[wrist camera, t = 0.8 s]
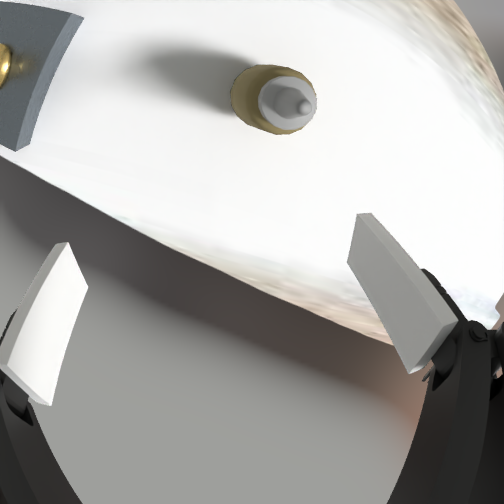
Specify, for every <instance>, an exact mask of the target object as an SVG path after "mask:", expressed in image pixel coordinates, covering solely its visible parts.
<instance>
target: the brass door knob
mask: <svg viewBox="0 0 504 504" xmlns="http://www.w3.org/2000/svg"><path fill="white" fill-rule="evenodd" d="M12 54H13V53H12V52H11V50H10V48H9V46H8V45H6V44H0V88H1V87H2V85H3V84H4V82H5V81H6V79H7V77H8V74H9V72H10V68H11V63H12Z"/></svg>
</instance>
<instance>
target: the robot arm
mask: <svg viewBox="0 0 504 504" xmlns="http://www.w3.org/2000/svg"><path fill="white" fill-rule="evenodd" d="M347 263H348V265H349V267H350V268H351V270H352V271H353V273H354V275H355V276H356V278H357V280H358V281H359V283H360V285H361V286H362V288H363V290H364V292H365V293H366V295H367V297H368V298H369V300H370V302H371V304H372V305H373V307H374V309H375V311H376V313H377V314H378V316H379V318H380V320H381V322H382V323H383V325H384V327H385V329H386V331H387V333H388V335H389V336H390V338H391V340H392V342H393V344H394V346H395V348H396V350H397V352H398V354H399V356H400V358H401V360H402V362H403V364H404V366H405V368H406V370H407V372H408V374H410V373H413V372H415V371H418V370H420V369H423V368H424V367H425V366H426V365H427V364H428V362H429V361H430V360H432V362H433V363H434V365H433V367H432V368H431V369H430V370H429V371H428V373H427V374H426V375H425V376H424V378H423V380H422V381H425V380H426V379H427V378H428V377H429V376H430V377H429V381H428V387H427V391H426V395H425V400H424V404H423V408H422V412H421V415H420V419H419V422H418V426H417V429H416V432H415V435H414V438H413V441H412V444H411V448H410V450H409V453H408V456H407V458H406V461H405V464H404V467H403V469H402V471H401V474H400V476H399V478H398V481H397V483H396V485H395V487H394V490H393V492H392V494H391V496H390V499H389V500H388V502H387V504H504V322H503V323H502V324H501V326H500V327H499V329H498V330H487V329H486V328H485V327H484V326H483V325H482V324H481V323H479V322H477V321H473V320H471V321H468V320H467V319H466V318H465V316H464V315H463V313H462V312H461V311H460V309H459V308H458V306H457V305H456V304H455V302H454V301H453V300H452V298H451V297H450V296H449V294H447V292H446V290H445V289H444V288H443V287H441V284H440V283H439V281H438V280H437V279H436V278H435V276H434V275H432V274H431V273H430V272H428V271H427V270H426V269H420V268H419V267H418V266H417V264H416V263H415V262H414V261H413V259H412V258H411V257H410V256H409V255H408V254H407V252H406V251H405V250H404V249H403V248H402V247H401V245H400V244H399V243H398V242H397V241H396V240H395V239H394V237H393V236H392V235H391V234H390V233H389V232H388V231H387V230H386V229H385V227H384V226H383V225H382V224H381V223H380V222H379V221H378V220H377V219H376V218H375V217H374V216H373V215H372V214H371V213H364V214H357V217H356V222H355V227H354V232H353V237H352V242H351V246H350V251H349V255H348V260H347ZM87 289H88V286H87V284H86V282H85V280H84V277H83V275H82V273H81V271H80V269H79V266H78V264H77V262H76V260H75V258H74V255H73V253H72V250H71V248H70V245H69V243H68V242H66V243H59V244H56V245H55V246H54V248H53V249H52V251H51V252H50V254H49V255H48V257H47V258H46V260H45V262H44V263H43V265H42V266H41V268H40V269H39V271H38V273H37V274H36V276H35V278H34V280H33V281H32V283H31V285H30V287H29V288H28V290H27V292H26V294H25V296H24V297H23V300H22V301H21V303H20V305H19V307H18V308H17V310H16V311H15V312H14V313H13V314H12V316H11V317H10V319H9V321H8V323H7V325H6V329H5V330H4V332H3V336H2V337H1V339H0V504H82V502H81V501H80V499H79V498H78V496H77V495H76V493H75V492H74V490H73V489H72V487H71V485H70V484H69V482H68V481H67V479H66V477H65V475H64V474H63V472H62V470H61V468H60V466H59V465H58V463H57V461H56V459H55V457H54V455H53V453H52V451H51V449H50V447H49V445H48V443H47V441H46V439H45V436H44V434H43V432H42V430H41V427H40V425H39V423H38V420H37V418H36V415H35V413H34V410H33V407H32V405H31V404H30V403H29V402H28V397H29V396H30V397H31V398H33V399H34V400H35V401H36V402H37V403H41V404H45V405H50V406H51V405H52V400H53V395H54V391H55V387H56V383H57V379H58V375H59V371H60V367H61V364H62V361H63V357H64V354H65V351H66V347H67V344H68V341H69V338H70V335H71V332H72V329H73V326H74V323H75V320H76V318H77V314H78V312H79V309H80V307H81V304H82V301H83V299H84V296H85V294H86V291H87ZM501 367H502V372H503V374H502V375H501V376H500V377H499V378H497V376H496V372H497V371H498V370H499V369H500V368H501Z"/></svg>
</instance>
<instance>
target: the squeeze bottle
mask: <svg viewBox="0 0 504 504" xmlns="http://www.w3.org/2000/svg"><path fill="white" fill-rule="evenodd" d="M230 93H231V105H232V107H233V109H234V111H235V113H236V115H237V116H238V117H239V118H240V119H241V120H242V121H244V122H245V123H246V124H247V125H250V126H253V127H256V128H258V129H261V130H264V131H267V132H270V133H272V134H275V135H281V134H291V133H293V132H296V131H298V130H301V129H302V128H303V127H304V126H305V125H306V124H307V123H308V122H309V121H310V120H311V119H312V118H313V116H314V114H315V111H316V109H317V98H316V93H315V91H314V88H313V86H312V84H311V82H310V81H309V80H308V79H307V78H306V77H305V76H304V75H303V74H302V73H300V72H298V71H295V70H293V69H291V68H288V67H282V66H276V65H256V66H253V67H251V68H248V69H246V70H244V71H243V72H242V73H241V74H240V75H239V76H238V77H237V78H236V79H235V81H234V84H233V86H232V89H231V92H230Z"/></svg>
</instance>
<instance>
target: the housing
mask: <svg viewBox="0 0 504 504" xmlns="http://www.w3.org/2000/svg"><path fill="white" fill-rule="evenodd" d="M83 20H84V18H83V17H81V16H78V15H75V14H73V13H69V12H65V11H60V10H56V9H51V8H46V7H41V6H35V5H29V4H21V3H13V2H2V1H0V44H6V45H8V46H9V48H10V50H11V52H12V53H13V54H12V63H11V68H10V72H9V74H8V77H7V79H6V81H5V82H4V84H3V85H2V87H1V88H0V144H1V145H3V146H5V147H7V148H9V149H11V150H13V151H15V152H16V151H18V150H19V149H21V148H23V147H25V146H27V145H29V144H30V141H31V137H32V134H33V130H34V127H35V124H36V121H37V118H38V115H39V112H40V109H41V106H42V104H43V101H44V98H45V96H46V93H47V91H48V88H49V86H50V83H51V81H52V79H53V76H54V74H55V72H56V70H57V67H58V65H59V63H60V61H61V59H62V57H63V55H64V53H65V51H66V49H67V47H68V45H69V44H70V42H71V40H72V38H73V36H74V35H75V33H76V31H77V29H78V28H79V26H80V24H81V23H82V21H83Z"/></svg>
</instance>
